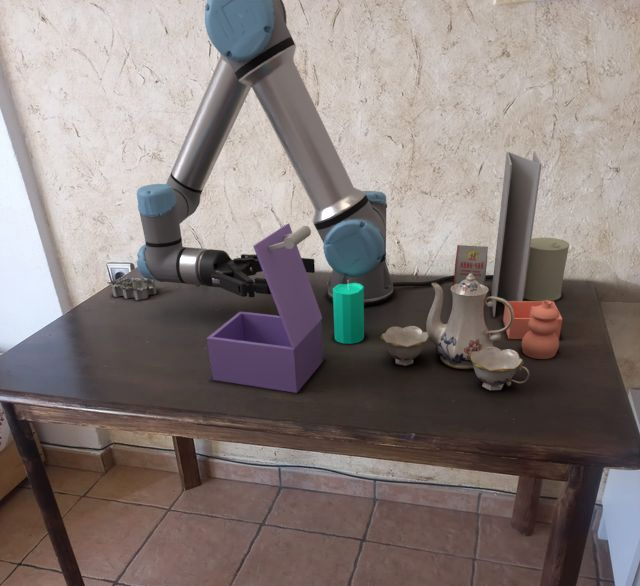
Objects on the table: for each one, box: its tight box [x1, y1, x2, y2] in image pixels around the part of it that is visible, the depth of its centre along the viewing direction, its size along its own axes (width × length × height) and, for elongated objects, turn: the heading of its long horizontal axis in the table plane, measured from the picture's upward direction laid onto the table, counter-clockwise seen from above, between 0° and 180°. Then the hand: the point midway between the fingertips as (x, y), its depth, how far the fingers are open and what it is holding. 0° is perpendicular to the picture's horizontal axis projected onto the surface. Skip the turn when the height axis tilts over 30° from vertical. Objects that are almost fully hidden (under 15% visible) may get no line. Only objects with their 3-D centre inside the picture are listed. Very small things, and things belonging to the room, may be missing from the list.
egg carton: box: [106, 276, 158, 301], centre depth 150 cm, size 11×8×4 cm
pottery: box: [502, 300, 563, 360], centre depth 117 cm, size 18×10×10 cm, turn 173°
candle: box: [332, 283, 365, 345], centre depth 121 cm, size 6×6×12 cm
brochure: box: [490, 150, 543, 318], centre depth 127 cm, size 14×6×30 cm, turn 168°
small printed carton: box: [452, 244, 489, 286], centre depth 142 cm, size 4×7×10 cm, turn 71°
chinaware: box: [379, 273, 530, 391], centre depth 108 cm, size 28×17×17 cm, turn 58°
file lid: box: [253, 223, 323, 348], centre depth 102 cm, size 17×13×5 cm
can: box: [523, 237, 570, 302], centre depth 136 cm, size 9×9×12 cm
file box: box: [206, 311, 324, 394], centre depth 112 cm, size 17×13×8 cm
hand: (301, 276), depth 121 cm, fingers open, 13 cm apart
